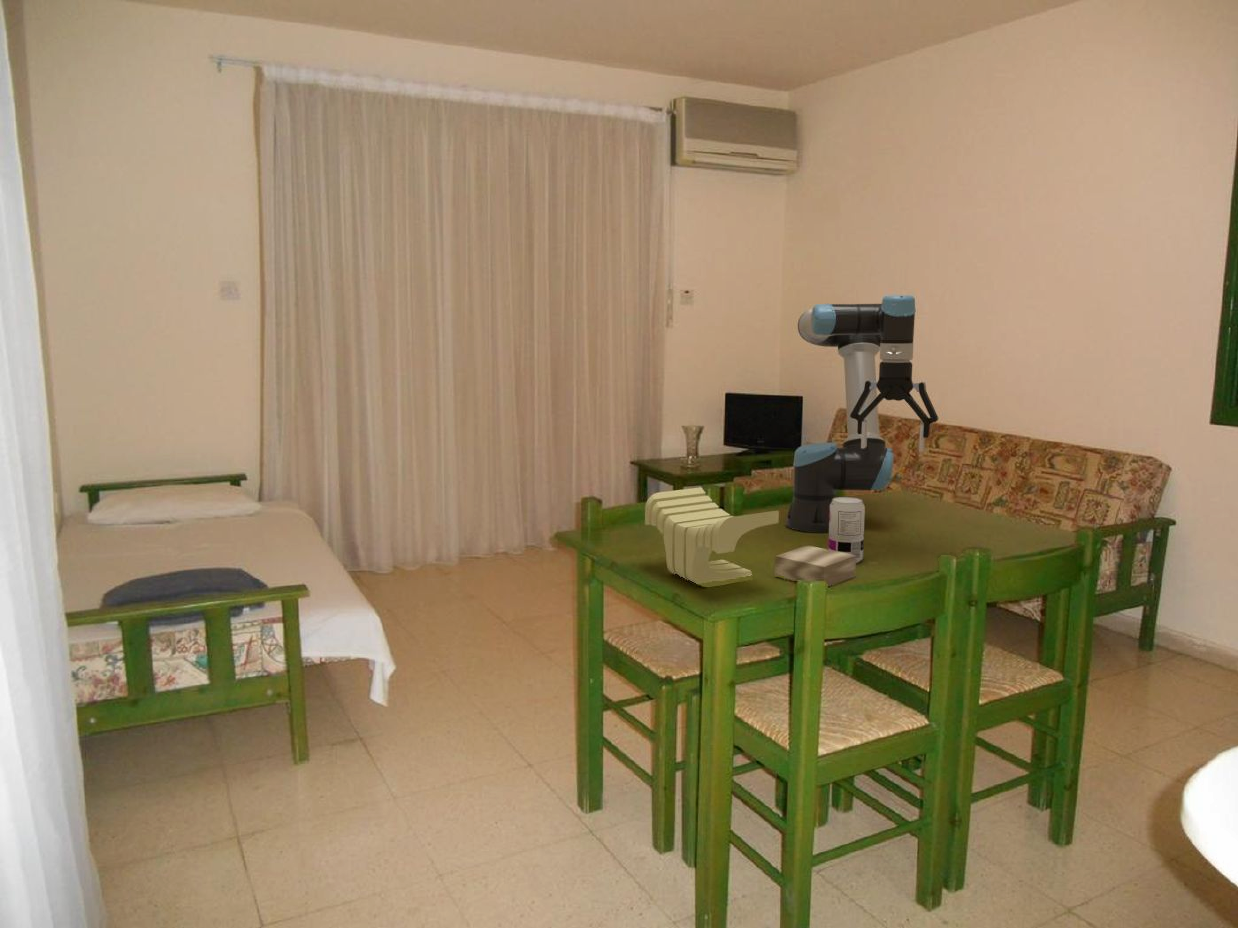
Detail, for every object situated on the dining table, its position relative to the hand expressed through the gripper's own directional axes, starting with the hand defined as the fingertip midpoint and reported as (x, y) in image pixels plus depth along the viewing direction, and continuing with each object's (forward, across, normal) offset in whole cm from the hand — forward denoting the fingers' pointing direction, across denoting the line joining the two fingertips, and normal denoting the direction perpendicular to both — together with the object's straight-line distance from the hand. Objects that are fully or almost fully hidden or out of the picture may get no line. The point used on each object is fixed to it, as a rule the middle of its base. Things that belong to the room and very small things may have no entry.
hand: (892, 449), depth 222 cm
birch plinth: (+27, -12, -24) cm, 38 cm away
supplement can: (+27, -9, -7) cm, 29 cm away
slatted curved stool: (+27, -33, -35) cm, 56 cm away
